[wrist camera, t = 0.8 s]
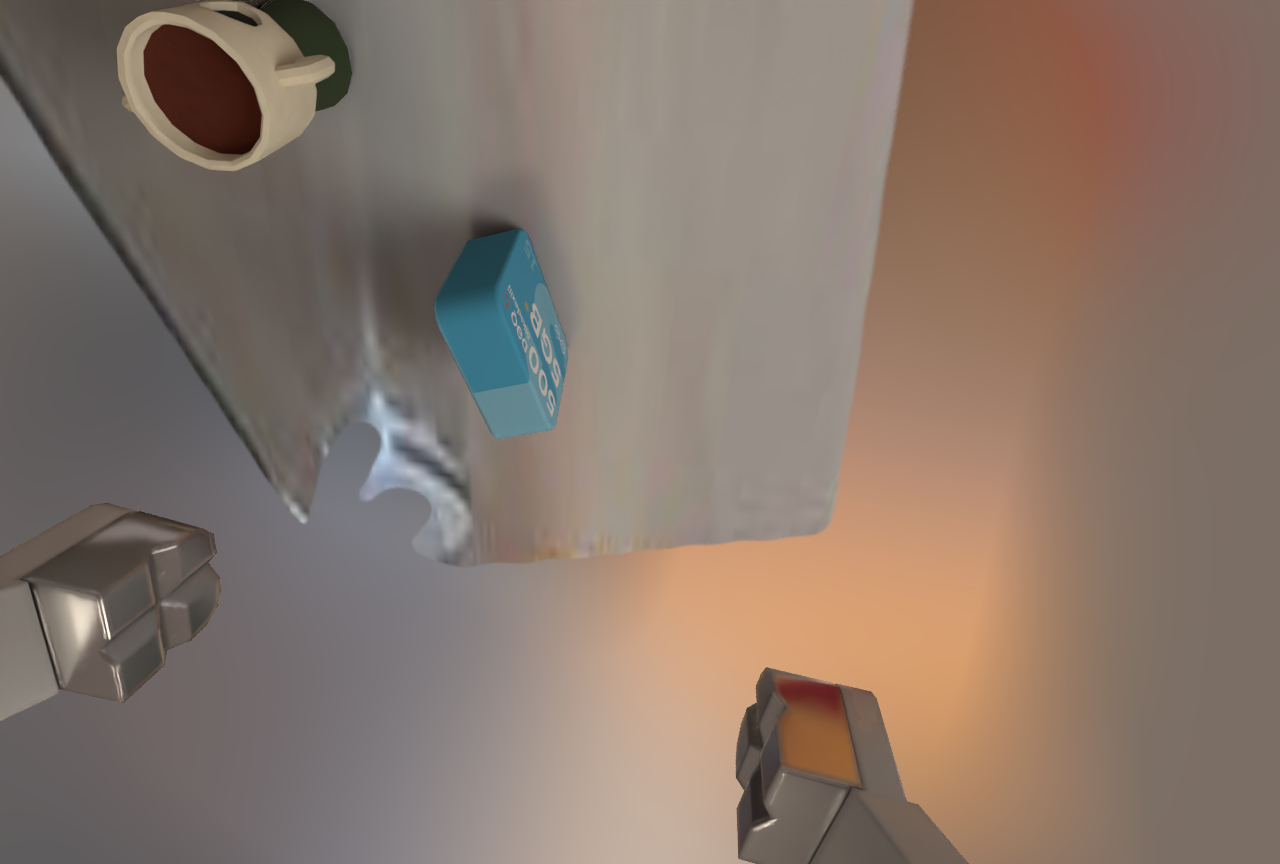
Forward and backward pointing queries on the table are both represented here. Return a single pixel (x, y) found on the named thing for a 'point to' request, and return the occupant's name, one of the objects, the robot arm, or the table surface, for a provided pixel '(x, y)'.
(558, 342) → the data package
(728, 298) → the table surface
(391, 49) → the table surface
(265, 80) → the character mug
